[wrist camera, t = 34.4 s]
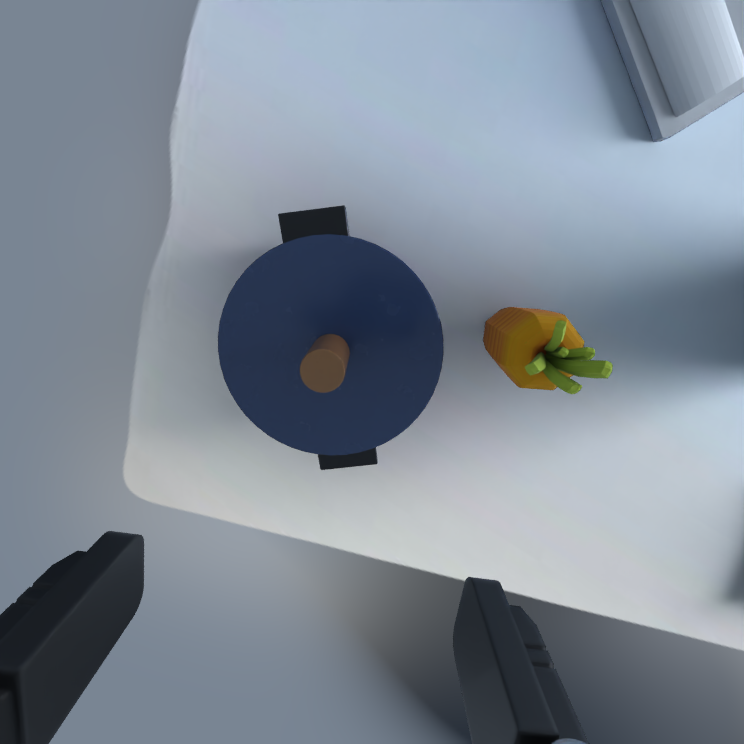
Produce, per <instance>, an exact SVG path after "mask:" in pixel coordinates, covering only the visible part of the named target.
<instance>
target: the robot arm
mask: <svg viewBox="0 0 744 744" xmlns="http://www.w3.org/2000/svg"><path fill="white" fill-rule="evenodd" d="M143 588H144V539H143V537H142V535H138V534H129V533H121V532H114V531H108V532H106V533H105V534H104V535H102V536H101V537H100V538H99V539H98V541H97V542H96V543H95V544H94V545H93V546H92V547H91V548H90V549H89V550H88V551H87V552H83V551H76V552H75V553H73V554H71V555H69V556H67V557H66V558H64V559H62V560H60V561H59V562H57V563H55V564H53V565H52V566H51V567H50V568H49V569H48V570H47V571H46V572H45V573H44V574H43V575H41V576H40V577H39V578H38V579H37V580H36V581H35V582H34V583H33V586H32V587H29V588H28V589H27V590H26V591H25V592H24V593H23V594H22V595H21V596H20V597H19V598H18V599H17V601H16V603H12V604H11V605H10V606H9V607H8V608H7V609H6V610H5V611H4V612H3V613H2V614H1V615H0V744H49V742H50V741H51V739H52V738H53V736H54V735H55V733H56V732H57V730H58V729H59V727H60V726H61V724H62V723H63V721H64V720H65V718H66V717H67V715H68V714H69V712H70V711H71V709H72V708H73V706H74V705H75V703H76V702H77V700H78V699H79V697H80V695H81V694H82V693H83V691H84V690H85V688H86V687H87V685H88V684H89V682H90V681H91V679H92V678H93V676H94V675H95V673H96V672H97V670H98V669H99V667H100V666H101V664H102V663H103V661H104V660H105V658H106V657H107V655H108V654H109V652H110V651H111V649H112V648H113V647H114V645H115V644H116V642H117V640H118V639H119V638H120V636H121V634H122V633H123V631H124V630H125V628H126V627H127V625H128V624H129V622H130V621H131V620H132V618H133V616H134V615H135V613H136V611H137V609H138V607H139V604H140V601H141V598H142V594H143ZM453 647H454V656H455V661H456V666H457V671H458V676H459V681H460V686H461V691H462V696H463V701H464V705H465V710H466V715H467V720H468V725H469V730H470V735H471V739H472V744H589V742H588V741H587V738H586V736H585V734H584V732H583V729H582V727H581V725H580V723H579V720H578V718H577V716H576V714H575V711H574V709H573V707H572V704H571V702H570V700H569V698H568V695H567V693H566V691H565V689H564V686H563V684H562V682H561V680H560V677H559V676H558V673H557V671H556V669H554V664H553V662H552V659H551V657H550V655H549V653H548V651H546V646H545V644H544V641H543V639H542V637H541V634H540V633H539V630H538V628H537V625H536V624H535V623H534V622H533V621H532V620H531V619H530V617H529V616H528V615H527V614H526V613H525V611H524V610H523V609H522V608H521V607H520V606H512V605H509V604H508V602H507V599H506V596H505V594H504V591H503V589H502V586H501V584H500V582H499V581H497V580H489V579H481V578H473V577H468V578H467V579H466V581H465V584H464V588H463V592H462V597H461V601H460V604H459V609H458V613H457V617H456V621H455V626H454V634H453Z"/></svg>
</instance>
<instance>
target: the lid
mask: <svg viewBox="0 0 744 744" xmlns="http://www.w3.org/2000/svg"><path fill="white" fill-rule="evenodd" d="M218 352H219V359H220V365H221V369H222V372H223V376H224V379H225V382H226V384H227V386H228V389H229V391H230V393H231V395H232V396H233V398H234V400H235V401H236V403H237V405H238V406H239V407H240V409H241V410H242V411H243V412H244V414H245V415H246V416H247V417H248V418H249V419H250V420H251V421H252V422H253V423H254V424H255V425H256V426H257V427H258V428H259V429H261V430H262V431H263V432H265V433H266V434H267V435H269V436H270V437H272V438H274V439H275V440H277V441H279V442H281V443H283V444H285V445H287V446H289V447H292V448H295V449H298V450H301V451H304V452H309V453H314V454H320V455H347V454H353V453H359V452H362V451H366V450H369V449H372V448H375V447H377V446H379V445H382V444H384V443H386V442H388V441H389V440H391V439H393V438H394V437H396V436H397V435H399V434H400V433H401V432H403V431H404V430H405V429H406V428H408V427H409V426H410V425H411V424H412V423H413V422H414V421H415V420H416V419H417V418H418V416H419V415H420V414H421V412H422V411H423V410H424V408H425V407H426V405H427V404H428V402H429V400H430V398H431V397H432V395H433V393H434V390H435V388H436V385H437V383H438V380H439V376H440V372H441V368H442V361H443V334H442V327H441V322H440V319H439V315H438V312H437V309H436V307H435V305H434V302H433V300H432V298H431V296H430V294H429V292H428V291H427V289H426V288H425V286H424V284H423V283H422V282H421V280H420V279H419V278H418V277H417V275H416V274H415V273H414V272H413V271H412V270H411V269H410V268H409V267H408V266H407V265H406V264H405V263H404V262H403V261H402V260H400V259H399V258H397V257H396V256H395V255H393V254H392V253H390V252H389V251H387V250H385V249H383V248H381V247H379V246H378V245H376V244H373V243H370V242H368V241H365V240H362V239H359V238H354V237H350V236H345V235H334V234H323V235H311V236H306V237H301V238H297V239H294V240H291V241H288V242H285V243H283V244H281V245H279V246H277V247H275V248H273V249H271V250H269V251H268V252H266V253H265V254H264V255H262V256H261V257H259V258H258V259H257V260H256V261H255V262H253V263H252V264H251V265H250V266H249V267H248V268H247V269H246V270H245V271H244V273H243V274H242V275H241V276H240V278H239V279H238V280H237V282H236V283H235V285H234V287H233V288H232V290H231V292H230V293H229V296H228V298H227V300H226V303H225V305H224V308H223V311H222V315H221V319H220V324H219V332H218Z"/></svg>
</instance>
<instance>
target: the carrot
mask: <svg viewBox="0 0 744 744" xmlns="http://www.w3.org/2000/svg"><path fill="white" fill-rule="evenodd" d="M483 342H484V346H485V349H486V351H487V352H488V353H489V354H490V356H491V357H492V358H493V359H494V360H495V362H496V363H497V364H498V365H499V367H500V368H501V369H502V370H503V371H504V373H505V374H506V375H507V376H508V377H509V378H510V379H511V380H512V381H513V382H514V383H515V384H516V385H517V386H518V387H520V388H529V389H543V390H554V389H555V388H557V387H559V388H560V389H562V390H563V391H565V392H567V393H570V394H576V393H577V392H579V391H580V390H581V388H582V385H580V384H578V383H577V382H575V381H574V380H572V379H570V377H571V376H573V375H575V376H578V377H588V378H608V377H609V376H610V374H611V373H612V367H613V365H612V363H611V362H608V361H601V360H591V359H592V358H593V357H594V356H595V350H594V349H593V348H590V347H584V348H583V346H584V340H583V339H582V337H581V336H580V335H579V333H578V332H577V331H576V329H575V328H574V327H573V325H572V324H571V323H570V321H569V320H568V319H567V317H566V316H565V315H563V314H560V313H556V312H552V311H547V310H540V309H530V308H517V307H508V308H504V309H501V310H499V311H498V312H497V313H496V314H494V315H493V316H492V317H491V318H490V319H488V320H487V321H486V323H485V330H484V337H483ZM581 360H586V361H581Z"/></svg>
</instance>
